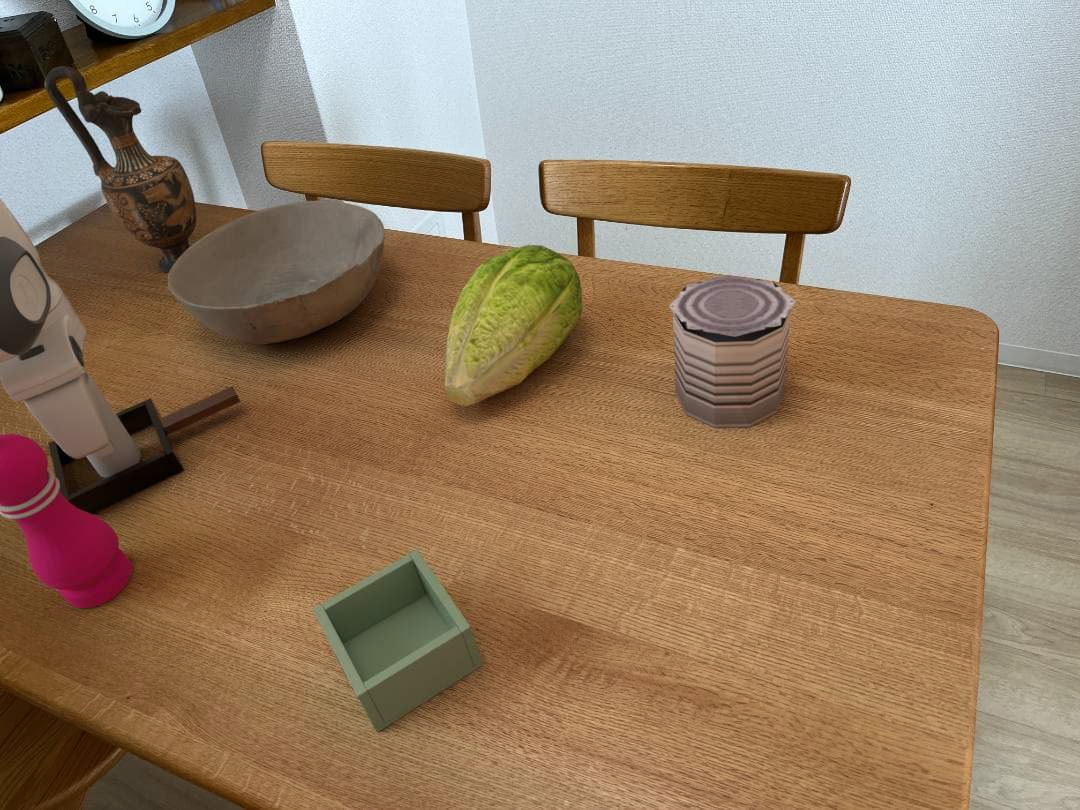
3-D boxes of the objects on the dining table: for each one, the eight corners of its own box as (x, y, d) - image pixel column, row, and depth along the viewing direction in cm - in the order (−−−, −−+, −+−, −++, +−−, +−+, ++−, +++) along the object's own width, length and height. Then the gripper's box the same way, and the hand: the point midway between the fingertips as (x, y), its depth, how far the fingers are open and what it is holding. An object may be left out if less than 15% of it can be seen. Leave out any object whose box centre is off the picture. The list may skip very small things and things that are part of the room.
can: (660, 417, 84) (655, 324, 77) (693, 352, 92) (691, 261, 84) (770, 439, 80) (777, 343, 72) (795, 369, 87) (804, 275, 79)
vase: (207, 274, 121) (110, 72, 102) (128, 285, 122) (17, 86, 103) (228, 235, 130) (142, 42, 110) (154, 245, 131) (57, 56, 111)
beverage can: (147, 447, 92) (95, 365, 85) (138, 476, 89) (83, 394, 81) (105, 456, 92) (49, 375, 84) (94, 486, 89) (35, 404, 81)
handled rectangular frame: (76, 522, 85) (61, 503, 83) (61, 461, 93) (47, 443, 91) (259, 434, 91) (249, 415, 89) (230, 385, 99) (221, 366, 97)
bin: (377, 732, 62) (357, 696, 59) (332, 645, 69) (312, 608, 65) (483, 664, 66) (470, 626, 62) (431, 587, 72) (417, 548, 68)
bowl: (299, 395, 96) (269, 328, 89) (155, 343, 109) (120, 281, 102) (437, 275, 112) (420, 210, 105) (298, 242, 125) (275, 182, 118)
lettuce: (382, 367, 88) (450, 340, 77) (485, 245, 100) (555, 207, 89) (461, 447, 93) (534, 431, 82) (550, 321, 104) (624, 294, 94)
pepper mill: (91, 548, 81) (-27, 401, 68) (152, 554, 80) (43, 404, 67) (45, 609, 76) (-92, 462, 63) (109, 617, 75) (-18, 467, 61)
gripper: (-11, 303, 84) (59, 401, 93) (6, 400, 71) (85, 505, 80) (52, 279, 87) (114, 378, 96) (79, 369, 73) (149, 474, 82)
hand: (101, 436), depth 87 cm, fingers closed on beverage can, 5 cm apart
